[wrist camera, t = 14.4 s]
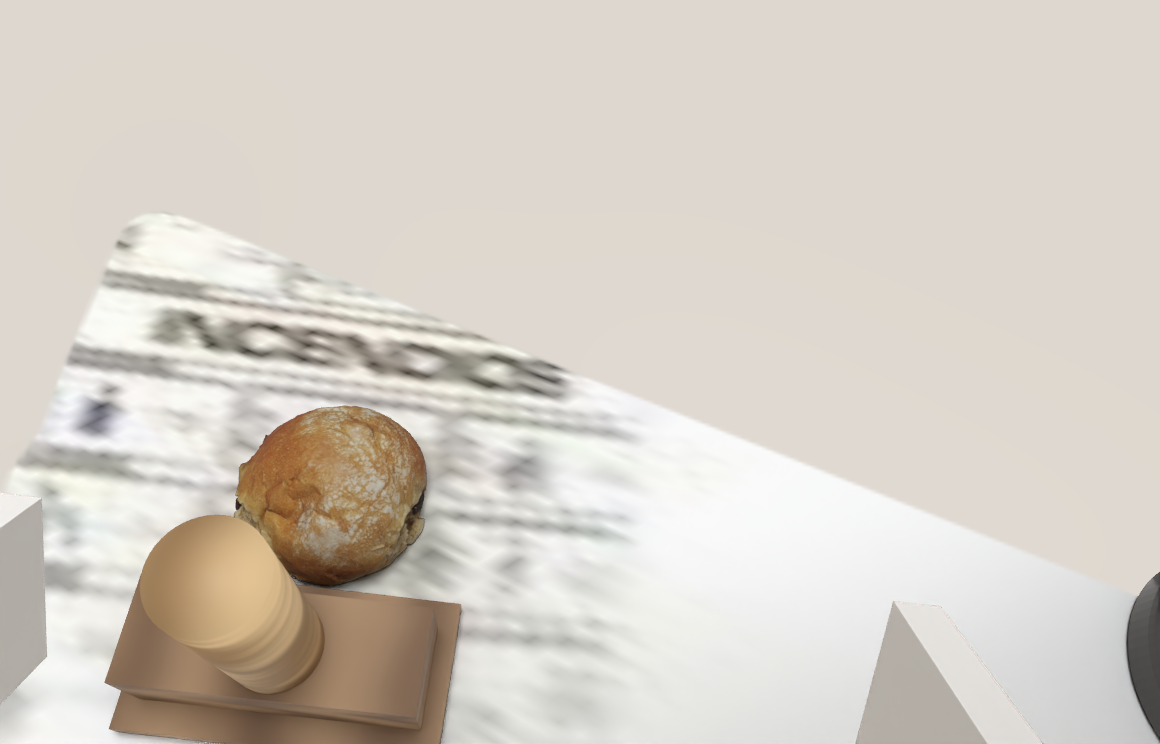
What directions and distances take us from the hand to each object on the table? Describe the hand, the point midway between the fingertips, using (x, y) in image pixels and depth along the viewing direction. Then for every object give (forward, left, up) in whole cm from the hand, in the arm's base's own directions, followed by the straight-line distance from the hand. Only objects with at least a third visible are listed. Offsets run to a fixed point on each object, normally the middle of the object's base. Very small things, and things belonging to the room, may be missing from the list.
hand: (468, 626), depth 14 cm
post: (+10, -5, -30) cm, 32 cm away
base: (+10, -5, -36) cm, 37 cm away
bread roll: (+10, -14, -36) cm, 40 cm away
